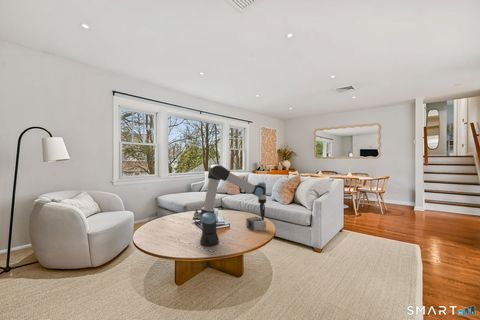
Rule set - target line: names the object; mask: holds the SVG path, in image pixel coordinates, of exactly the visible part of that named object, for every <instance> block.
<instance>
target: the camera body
mask: <svg viewBox="0 0 480 320" xmlns="http://www.w3.org/2000/svg"><path fill="white" fill-rule="evenodd" d="M253 221H261V217H260V216H259V217H258V216H255V215H254V216H251V217H247V218H246V221H245V225H246V229H248V230H251V231H253Z"/></svg>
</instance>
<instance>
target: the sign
mask: <svg viewBox="0 0 480 320" xmlns="http://www.w3.org/2000/svg"><path fill="white" fill-rule="evenodd" d="M203 207H204V204H203V206H201V209H200V212H199V211H198V209H195V211H194V214H193V217H192V221H195V220H200V219H199V215H200V213H201V210H202V208H203Z"/></svg>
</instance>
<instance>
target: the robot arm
mask: <svg viewBox="0 0 480 320" xmlns="http://www.w3.org/2000/svg"><path fill="white" fill-rule="evenodd" d="M207 170H208V171H207V172H208V174H207V179H208V184H207V189H206V194H205V199H204V204H203V205H204V207H203V206H202V207H203V208H202V207H201V209H202V210H201V209H200V215H199V219H200V221H201V222H200V223H201V237H200V239H199V243H200V245H201V246H203V247H213V246H216V245H218V244H219V242H220V241H219V240H220V239H219V236H218V233H217V215H216V213H215V211H216V210H215V209H214V207H215V201H216V197H217V192H218V186H219V182H220V181H223V182H227V183H230V184H232V185H233V186H236V187H238V188H239V189H242V190H244V191H245V192H246V194H247V195H248V194H249V195H250V194H252V195H254V196H255V197H257V200H258V201H257V202H258V204H259V212H260V213H259V214H260V218H261V221H265V212H266V206H265V204H266V203H267V185H266V182H263V181H262V182H261V181H260V182H258V183H257V184H253V183H251V182H249V181H247V180H245V179H243V178H241V177H240V176H237V175H235V174H234V173H232V172H231V170H229V169H228V168H226V167H224V166H223V165H221V164H217V163H213V164H211V165H209V167H208V169H207Z"/></svg>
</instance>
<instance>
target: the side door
mask: <svg viewBox="0 0 480 320" xmlns="http://www.w3.org/2000/svg"><path fill="white" fill-rule="evenodd" d="M266 230H267V221H266V220H264V221H253V230H252V231H253V232H254V231H266Z"/></svg>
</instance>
